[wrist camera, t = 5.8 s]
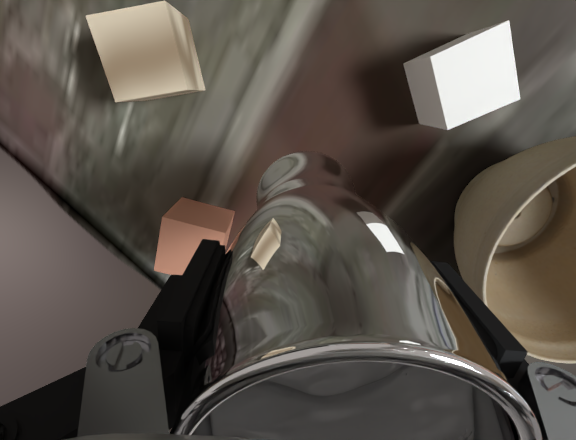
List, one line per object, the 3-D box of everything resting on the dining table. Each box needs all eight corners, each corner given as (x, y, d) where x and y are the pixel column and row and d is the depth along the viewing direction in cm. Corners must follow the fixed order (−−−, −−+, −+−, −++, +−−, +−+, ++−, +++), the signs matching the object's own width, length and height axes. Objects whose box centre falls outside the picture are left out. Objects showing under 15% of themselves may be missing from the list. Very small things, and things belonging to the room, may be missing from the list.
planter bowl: (532, 75, 25) (701, 61, 15) (622, 201, 29) (802, 258, 19) (381, 213, 29) (433, 276, 19) (480, 306, 34) (564, 397, 23)
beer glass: (270, 260, 21) (236, 595, 7) (232, 163, 18) (62, 398, 4) (371, 232, 20) (554, 551, 6) (347, 126, 17) (570, 277, 4)
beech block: (124, 31, 23) (85, 15, 19) (188, 19, 23) (164, 0, 19) (146, 100, 25) (115, 102, 21) (205, 90, 25) (187, 89, 20)
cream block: (402, 63, 25) (430, 56, 20) (465, 34, 24) (508, 20, 19) (418, 123, 26) (447, 130, 22) (477, 98, 26) (520, 98, 21)
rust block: (182, 196, 28) (162, 216, 24) (235, 211, 29) (225, 233, 24) (173, 243, 30) (153, 270, 26) (223, 256, 31) (213, 284, 26)
